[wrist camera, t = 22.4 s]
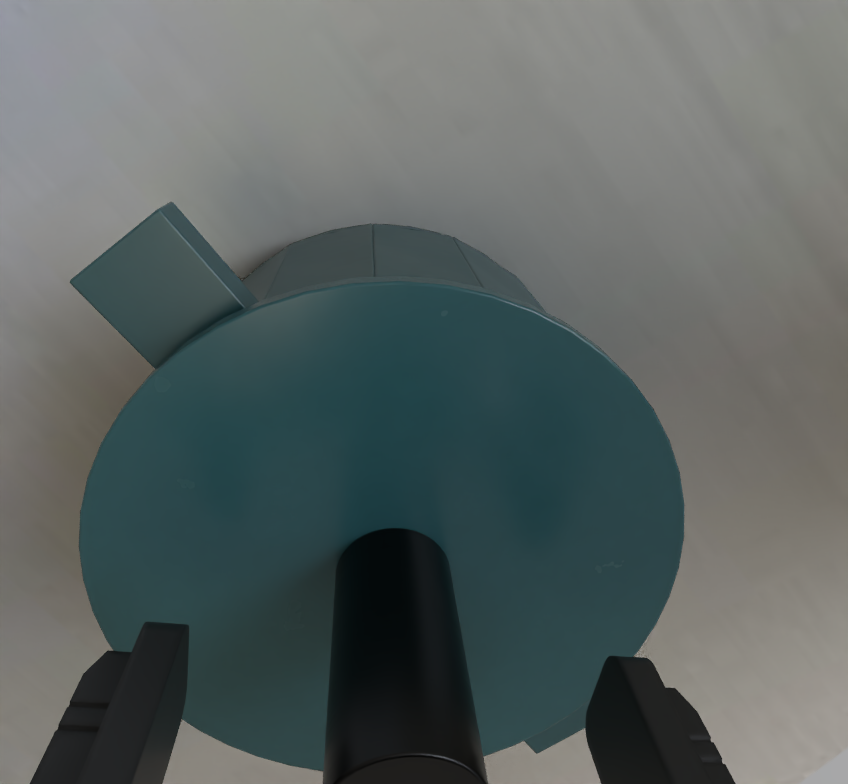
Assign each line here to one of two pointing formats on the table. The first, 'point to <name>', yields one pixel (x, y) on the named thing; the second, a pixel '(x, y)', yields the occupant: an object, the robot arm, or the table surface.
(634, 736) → the robot arm
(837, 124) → the table surface
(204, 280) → the pot
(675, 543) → the lid
